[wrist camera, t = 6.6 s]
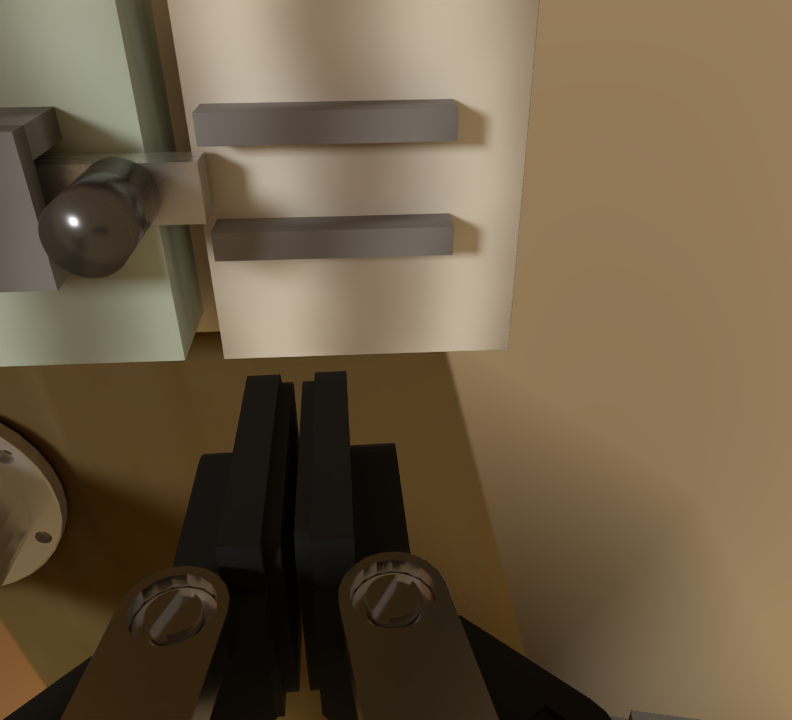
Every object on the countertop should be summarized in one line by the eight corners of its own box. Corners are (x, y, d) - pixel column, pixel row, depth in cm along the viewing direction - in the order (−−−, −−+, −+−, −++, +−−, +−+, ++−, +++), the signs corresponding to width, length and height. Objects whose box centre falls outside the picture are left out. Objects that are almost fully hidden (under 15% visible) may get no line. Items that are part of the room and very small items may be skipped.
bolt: (202, 144, 22) (170, 192, 18) (213, 216, 24) (185, 275, 20) (-54, 150, 22) (-143, 199, 18) (-29, 222, 23) (-107, 284, 19)
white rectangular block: (511, -106, 24) (581, -120, 17) (484, 307, 33) (523, 418, 25) (-84, -102, 23) (-285, -115, 16) (45, 320, 32) (-47, 440, 24)
